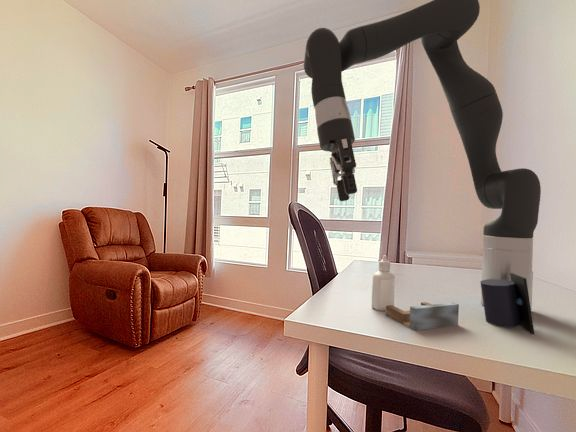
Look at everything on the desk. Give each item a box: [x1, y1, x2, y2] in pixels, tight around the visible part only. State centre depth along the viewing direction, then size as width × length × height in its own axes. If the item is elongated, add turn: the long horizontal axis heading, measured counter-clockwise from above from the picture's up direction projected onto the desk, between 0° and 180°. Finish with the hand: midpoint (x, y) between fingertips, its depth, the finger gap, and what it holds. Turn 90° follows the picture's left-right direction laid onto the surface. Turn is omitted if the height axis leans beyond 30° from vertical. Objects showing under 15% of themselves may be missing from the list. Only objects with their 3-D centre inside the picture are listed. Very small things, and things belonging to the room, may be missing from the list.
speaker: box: [480, 273, 535, 336], centre depth 53 cm, size 8×6×10 cm
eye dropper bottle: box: [371, 254, 396, 312], centre depth 60 cm, size 4×6×12 cm
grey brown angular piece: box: [385, 301, 460, 331], centre depth 53 cm, size 11×8×4 cm
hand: (347, 197), depth 55 cm, fingers open, 8 cm apart
